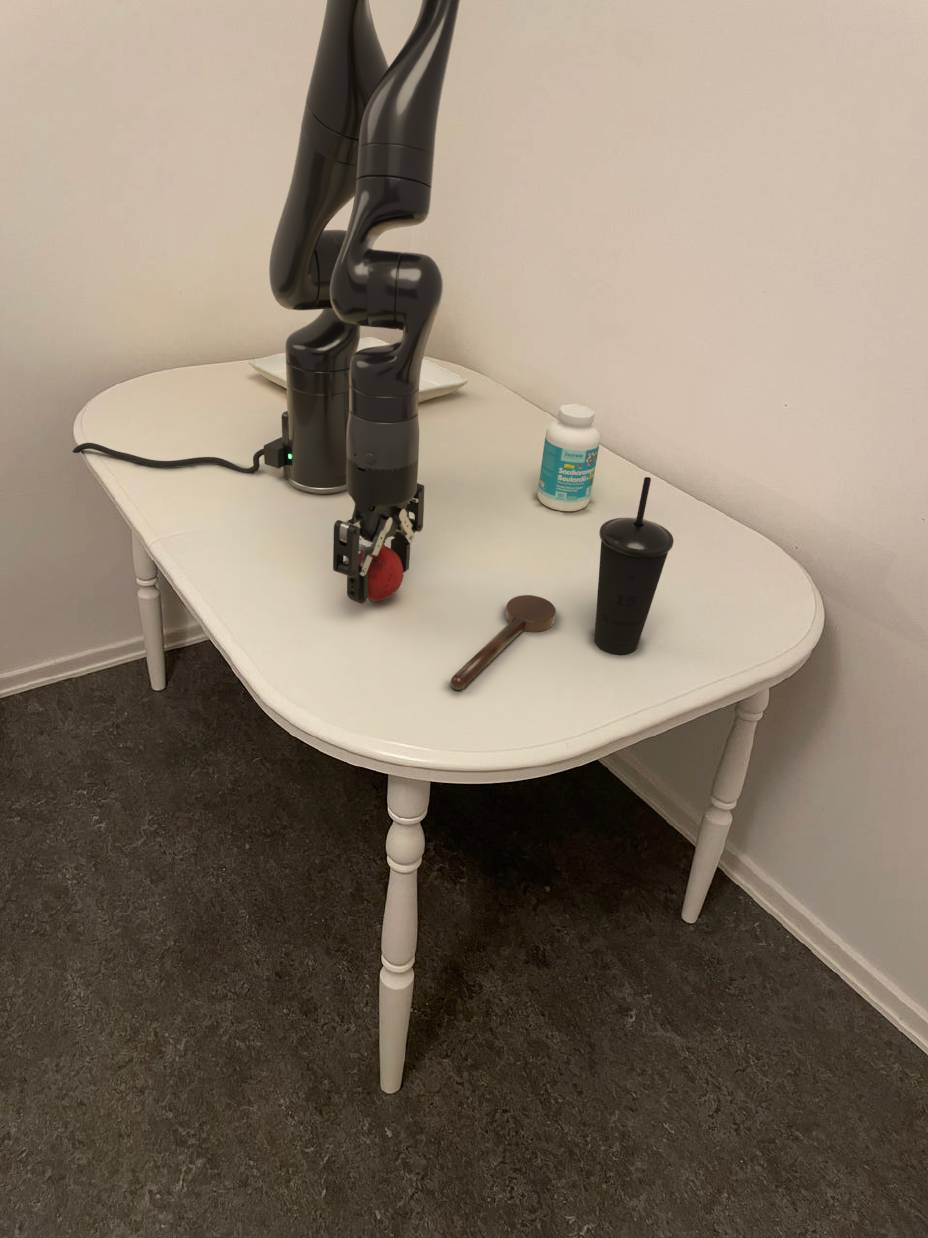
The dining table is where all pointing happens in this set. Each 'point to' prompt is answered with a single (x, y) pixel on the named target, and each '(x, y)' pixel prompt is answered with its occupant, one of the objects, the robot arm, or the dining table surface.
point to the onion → (383, 574)
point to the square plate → (431, 375)
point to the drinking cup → (628, 577)
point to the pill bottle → (569, 459)
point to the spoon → (509, 633)
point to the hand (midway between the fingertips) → (379, 584)
